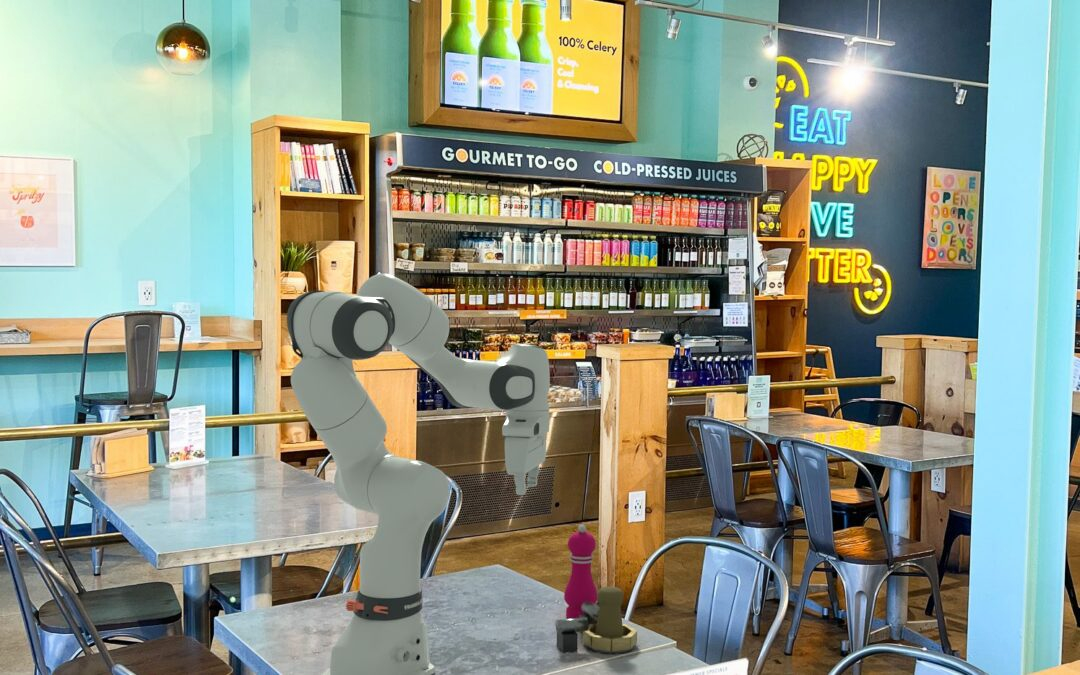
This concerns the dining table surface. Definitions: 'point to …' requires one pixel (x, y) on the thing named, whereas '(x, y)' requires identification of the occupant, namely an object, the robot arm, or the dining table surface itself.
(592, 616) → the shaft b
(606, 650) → the coupling collar
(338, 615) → the dining table surface
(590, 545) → the pepper mill
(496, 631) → the dining table surface
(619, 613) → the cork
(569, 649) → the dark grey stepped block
